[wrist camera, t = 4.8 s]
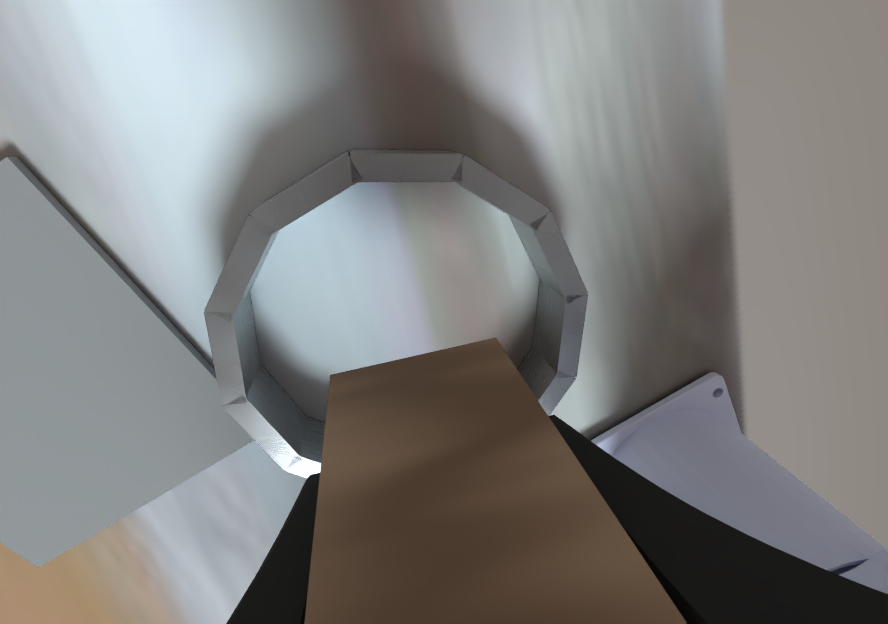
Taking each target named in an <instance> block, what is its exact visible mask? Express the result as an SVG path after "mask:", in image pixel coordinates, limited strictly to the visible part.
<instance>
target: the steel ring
mask: <svg viewBox="0 0 888 624" xmlns="http://www.w3.org/2000/svg"><path fill="white" fill-rule="evenodd" d="M357 182H455V183H457V184H459V185H460V186H462V187H464V188H465V189H467V190H468V191H470V192H472V193H473V194H475V195H477V196H478V197H480V198H481V199H483V200H485V201H486V202H488V203H490V204H491V205H493V206H494V207H496V208H498V209H499V210H501V211H503V212H504V213H506V214H507V215H509V217H510V219H511V221H512V223H513V225H514V227H515V229H516V231H517V233H518V235H519V237H520V239H521V241H522V243H523V245H524V247H525V250H526V252H527V254H528V256H529V258H530V260H531V262H532V264H533V266H534V268H535V270H536V272H537V274H538V276H539V278H540V283H539V294H538V304H537V314H536V325H535V335H534V346H533V347H532V349H531V350H530V351H529V353H528V354H527V356H526V357H525V359H524V360H523V362H522V363H521V365H520V366H519V368H518V369H517V370H518V372H519V373H520V375H521V376H522V378H523V379H524V381H525V382H526V384H527V385H528V387H529V388H530V389H531V391H532V392H533V394H534V395H535V397H536V398H537V400H538V401H539V403H540V404H541V406H542V407H543V409H544V410H545V412H546V413H547V415H548V416H549V415H550V414H551V413H552V411H553V410H554V408H555V407H556V406H557V404H558V403H559V401H560V400H561V399H562V397H563V396H564V394H565V393H566V392H567V390H568V389H569V387H570V386H571V385H572V383H573V382H574V380H575V379H576V378H575V377H577V370H578V363H579V356H580V348H581V341H582V334H583V327H584V319H585V312H586V305H587V298H588V294H586V293H588V292H587V290H586V288H585V286H584V283H583V281H582V279H581V276H580V274H579V272H578V270H577V267H576V265H575V263H574V261H573V258H572V256H571V254H570V252H569V249H568V247H567V245H566V243H565V240H564V238H563V236H562V234H561V231H560V229H559V227H558V225H557V222H556V220H555V218H554V216H553V213H552V211H550V209H549V208H547V207H546V206H544V205H542V204H541V203H539V202H538V201H536V200H535V199H533V198H532V197H530V196H528V195H527V194H525V193H524V192H522V191H521V190H519V189H518V188H516V187H514V186H513V185H511V184H510V183H508V182H507V181H505V180H504V179H502V178H500V177H499V176H497V175H496V174H494V173H493V172H491V171H490V170H488V169H486V168H485V167H483V166H482V165H480V164H479V163H477V162H476V161H474V160H472V159H471V158H469V157H468V156H466V155H464V154H461V153H456V152H452V151H448V150H350V152H349V150H348V151H346V152H345V153H343V154H341V155H340V156H338V157H337V158H335V159H333V160H332V161H330V162H328V163H327V164H325V165H324V166H322V167H320V168H319V169H317V170H315V171H314V172H312V173H310V174H309V175H307V176H306V177H304V178H302V179H301V180H299V181H297V182H296V183H294V184H292V185H291V186H289V187H288V188H286V189H284V190H283V191H281V192H279V193H278V194H276V195H275V196H273V197H271V198H270V199H268V200H266V201H265V202H264V203H262V204H261V205H260V206H259V207H257V208H256V209H255V210H254V211H252V212H251V213H250V214H249V215H248V217H247V219H246V221H245V223H244V225H243V228H242V230H241V232H240V234H239V236H238V238H237V241H236V243H235V245H234V247H233V249H232V251H231V254H230V256H229V258H228V260H227V262H226V264H225V267H224V269H223V271H222V273H221V275H220V277H219V280H218V282H217V284H216V286H215V288H214V290H213V293H212V295H211V297H210V299H209V301H208V303H207V306H206V308H205V310H204V311H205V312H204V315H205V321H206V326H207V331H208V336H209V342H210V347H211V352H212V358H213V363H214V368H215V373H216V379H217V384H218V389H219V394H220V400H221V405H223V408H224V409H225V410H226V411H227V412H228V413H229V414H230V415H231V416H232V417H233V418H234V419H235V420H236V421H237V422H238V423H239V424H240V425H241V427H242V428H243V429H244V430H245V431H246V432H247V433H248V434H249V435H250V436H251V437H252V438H253V439H254V440H255V441H256V442H257V443H258V444H259V445H260V446H261V447H262V448H263V449H264V450H265V451H266V452H267V453H268V455H269V456H270V457H271V458H272V459H273V460H274V461H275V462H276V463H277V464H278V465H279V466H280V467H281V468H282V469H283V470H285V469H286V472H289V473H292V474H295V475H298V476H301V477H304V478H308V477H309V476H310V475H312V474H316V473H320V469H321V460H322V450H323V440H324V431H325V423H323V422H320V421H317V420H315V419H312V418H309V417H306V415H305V414H304V413H303V412H302V411H301V410H300V408H299V407H298V406H297V405H296V404H295V403H294V402H293V400H292V399H291V398H290V397H289V396H288V395H287V394H286V392H285V391H284V390H283V389H282V388H281V387H280V385H279V384H278V383H277V382H276V381H275V380H274V379H273V377H272V376H271V375H270V374H269V373H268V372H267V371H266V369H265V368H264V367H263V366H262V365H261V364H260V357H259V351H258V344H257V337H256V330H255V323H254V317H253V310H252V303H251V296H250V289H251V287H252V285H253V283H254V281H255V279H256V277H257V275H258V272H259V270H260V268H261V266H262V264H263V262H264V260H265V258H266V256H267V254H268V252H269V250H270V248H271V246H272V243H273V241H274V239H275V237H276V235H277V233H278V231H279V230H280V229H281V228H283V227H285V226H286V225H288V224H290V223H291V222H293V221H295V220H296V219H298V218H299V217H301V216H303V215H304V214H306V213H308V212H309V211H311V210H313V209H314V208H316V207H318V206H319V205H321V204H322V203H324V202H326V201H327V200H329V199H331V198H332V197H334V196H336V195H337V194H339V193H341V192H342V191H344V190H345V189H347V188H349V187H350V186H352V185H354V184H355V183H357Z"/></svg>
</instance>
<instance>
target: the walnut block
mask: <svg viewBox="0 0 888 624" xmlns="http://www.w3.org/2000/svg"><path fill="white" fill-rule="evenodd" d="M304 624H687V623H686V621H685V620H684V618H683V617H682V615H681V614H680V612H679V611H678V609H677V608H676V606H675V605H674V603H673V602H672V600H671V599H670V597H669V596H668V594H667V593H666V591H665V590H664V588H663V587H662V585H661V584H660V582H659V581H658V579H657V578H656V576H655V575H654V573H653V572H652V570H651V569H650V567H649V566H648V564H647V563H646V561H645V560H644V558H643V557H642V555H641V554H640V552H639V551H638V549H637V548H636V546H635V545H634V543H633V542H632V540H631V539H630V537H629V536H628V534H627V533H626V531H625V530H624V528H623V527H622V525H621V524H620V522H619V521H618V519H617V518H616V516H615V515H614V513H613V512H612V510H611V509H610V507H609V506H608V505H607V503H606V502H605V500H604V499H603V497H602V496H601V494H600V493H599V491H598V490H597V488H596V487H595V485H594V484H593V482H592V481H591V479H590V478H589V476H588V475H587V473H586V472H585V470H584V469H583V467H582V466H581V464H580V463H579V461H578V460H577V458H576V457H575V455H574V454H573V452H572V451H571V449H570V448H569V446H568V445H567V443H566V442H565V440H564V439H563V437H562V436H561V434H560V433H559V431H558V430H557V428H556V427H555V425H554V424H553V422H552V421H551V419H550V418H549V416H548V415H547V413H546V412H545V410H544V409H543V407H542V406H541V404H540V403H539V401H538V400H537V398H536V397H535V395H534V394H533V392H532V391H531V389H530V388H529V387H528V385H527V384H526V382H525V381H524V379H523V378H522V376H521V375H520V373H519V372H518V370H517V369H516V367H515V366H514V364H513V363H512V361H511V360H510V358H509V357H508V355H507V354H506V352H505V351H504V349H503V348H502V346H501V345H500V343H499V342H498V340H497V339H496V338H492V339H488V340H483V341H479V342H475V343H470V344H466V345H461V346H457V347H452V348H448V349H444V350H439V351H435V352H430V353H426V354H421V355H417V356H413V357H408V358H404V359H399V360H395V361H390V362H386V363H382V364H377V365H373V366H368V367H364V368H359V369H355V370H350V371H346V372H342V373H337V374H333V375H330V383H329V393H328V402H327V412H326V421H325V431H324V440H323V450H322V460H321V469H320V479H319V488H318V498H317V507H316V517H315V527H314V536H313V546H312V555H311V565H310V574H309V584H308V593H307V603H306V613H305V622H304Z"/></svg>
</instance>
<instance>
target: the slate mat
mask: <svg viewBox="0 0 888 624" xmlns="http://www.w3.org/2000/svg"><path fill="white" fill-rule="evenodd" d="M252 441H254V439H253V438H252V437H251V436H250V435H249V434H248V433H247V432H246V431H245V430H244V429H243V428H242V427H241V425H240V424H239V423H238V422H237V421H236V420H235V419H234V418H233V417H232V416H231V415H230V414H229V413H228V412H227V411H226V410H225V409H224V408H223V405H221V400H220V394H219V389H218V384H217V379H216V373H215V369H214V368H213V367H212V366H211V365H210V364H209V363H208V362H207V361H206V360H205V359H204V357H203V356H202V355H201V354H200V353H199V352H198V351H197V350H196V349H195V348H194V347H193V346H192V345H191V344H190V342H189V341H188V340H187V339H186V338H185V337H184V336H183V335H182V334H181V333H180V332H179V331H178V330H177V328H176V327H175V326H174V325H173V324H172V323H171V322H170V321H169V320H168V319H167V318H166V317H165V316H164V315H163V313H162V312H161V311H160V310H159V309H158V308H157V307H156V306H155V305H154V304H153V303H152V302H151V301H150V299H149V298H148V297H147V296H146V295H145V294H144V293H143V292H142V291H141V290H140V289H139V288H138V287H137V285H136V284H135V283H134V282H133V281H132V280H131V279H130V278H129V277H128V276H127V275H126V274H125V273H124V272H123V270H122V269H121V268H120V267H119V266H118V265H117V264H116V263H115V262H114V261H113V260H112V259H111V258H110V256H109V255H108V254H107V253H106V252H105V251H104V250H103V249H102V248H101V247H100V246H99V245H98V244H97V243H96V241H95V240H94V239H93V238H92V237H91V236H90V235H89V234H88V233H87V232H86V231H85V230H84V229H83V227H82V226H81V225H80V224H79V223H78V222H77V221H76V220H75V219H74V218H73V217H72V216H71V215H70V214H69V212H68V211H67V210H66V209H65V208H64V207H63V206H62V205H61V204H60V203H59V202H58V201H57V200H56V198H55V197H54V196H53V195H52V194H51V193H50V192H49V191H48V190H47V189H46V188H45V187H44V186H43V185H42V183H41V182H40V181H39V180H38V179H37V178H36V177H35V176H34V175H33V174H32V173H31V172H30V171H29V169H28V168H27V167H26V166H25V165H24V164H23V163H22V162H21V161H20V160H19V159H18V158H17V157H16V156H13V157H6V158H5V159H3V160H1V161H0V543H2V544H3V545H5V546H6V547H8V548H9V549H11V550H12V551H14V552H15V553H17V554H18V555H20V556H21V557H23V558H24V559H26V560H27V561H29V562H30V563H32V564H33V565H35V566H36V567H40V566H42V565H43V564H45V563H47V562H48V561H50V560H52V559H53V558H55V557H57V556H59V555H60V554H62V553H64V552H65V551H67V550H69V549H70V548H72V547H74V546H76V545H77V544H79V543H81V542H82V541H84V540H86V539H87V538H89V537H91V536H92V535H94V534H96V533H98V532H99V531H101V530H103V529H104V528H106V527H108V526H109V525H111V524H113V523H115V522H116V521H118V520H120V519H121V518H123V517H125V516H126V515H128V514H130V513H131V512H133V511H135V510H137V509H138V508H140V507H142V506H143V505H145V504H147V503H148V502H150V501H152V500H153V499H155V498H157V497H159V496H160V495H162V494H164V493H165V492H167V491H169V490H170V489H172V488H174V487H176V486H177V485H179V484H181V483H182V482H184V481H186V480H187V479H189V478H191V477H192V476H194V475H196V474H198V473H199V472H201V471H203V470H204V469H206V468H208V467H209V466H211V465H213V464H215V463H216V462H218V461H220V460H221V459H223V458H225V457H226V456H228V455H230V454H231V453H233V452H235V451H237V450H238V449H240V448H242V447H243V446H245V445H247V444H248V443H250V442H252Z"/></svg>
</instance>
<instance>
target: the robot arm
mask: <svg viewBox="0 0 888 624" xmlns="http://www.w3.org/2000/svg"><path fill="white" fill-rule="evenodd" d="M715 390H716V391H715ZM714 391H715V392H714ZM713 392H714V393H713ZM549 418H550V419H551V421H552V422H553V424H554V425H555V427H556V428H557V430H558V431H559V433H560V434H561V436H562V437H563V439H564V440H565V442H566V443H567V445H568V446H569V448H570V449H571V451H572V452H573V454H574V455H575V457H576V458H577V460H578V461H579V463H580V464H581V466H582V467H583V469H584V470H585V472H586V473H587V475H588V476H589V478H590V479H591V481H592V482H593V484H594V485H595V487H596V488H597V490H598V491H599V493H600V494H601V496H602V497H603V499H604V500H605V502H606V503H607V505H608V506H609V507H610V509H611V510H612V512H613V513H614V515H615V516H616V518H617V519H618V521H619V522H620V524H621V525H622V527H623V528H624V530H625V531H626V533H627V534H628V536H629V537H630V539H631V540H632V542H633V543H634V545H635V546H636V548H637V549H638V551H639V552H640V554H641V555H642V557H643V558H644V560H645V561H646V563H647V564H648V566H649V567H650V569H651V570H652V572H653V573H654V575H655V576H656V578H657V579H658V581H659V582H660V584H661V585H662V587H663V588H664V590H665V591H666V593H667V594H668V596H669V597H670V599H671V600H672V602H673V603H674V605H675V606H676V608H677V609H678V611H679V612H680V614H681V615H682V617H683V618H684V620H685V621H686V623H687V624H888V549H887V548H886V547H885V546H883V545H882V544H881V543H880V542H878V541H877V540H876V539H875V538H873V537H872V536H871V535H869V534H868V533H867V532H866V531H864V530H863V529H862V528H861V527H859V526H858V525H857V524H856V523H854V522H853V521H852V520H850V519H849V518H848V517H847V516H845V515H844V514H843V513H842V512H840V511H839V510H838V509H836V508H835V507H834V506H833V505H831V504H830V503H829V502H828V501H826V500H825V499H824V498H823V497H821V496H820V495H819V494H818V493H816V492H815V491H814V490H812V489H811V488H810V487H809V486H807V485H806V484H805V483H804V482H802V481H801V480H800V479H799V478H797V477H796V476H795V475H793V474H792V473H791V472H789V471H788V470H787V469H786V468H785V467H783V466H782V465H781V464H780V463H778V462H777V461H776V460H774V459H773V458H772V457H771V456H769V455H768V454H767V453H766V452H764V451H763V450H762V449H761V448H759V447H758V446H757V445H756V444H754V443H753V442H752V441H750V440H749V439H748V438H747V437H745V436H744V435H743V434H742V433H741V430H740V427H739V423H738V420H737V417H736V414H735V411H734V408H733V405H732V402H731V399H730V396H729V393H728V390H727V387H726V383H725V380H724V378H723V377H722V376H721V375H719V374H717V373H715V372H711V373H708V374H706V375H705V376H703V377H701V378H699V379H698V380H696V381H694V382H692V383H691V384H689V385H687V386H685V387H684V388H682V389H680V390H678V391H677V392H675V393H673V394H671V395H670V396H668V397H666V398H664V399H663V400H661V401H659V402H657V403H656V404H654V405H652V406H650V407H649V408H647V409H645V410H643V411H642V412H640V413H638V414H636V415H635V416H633V417H631V418H629V419H628V420H626V421H624V422H622V423H621V424H619V425H617V426H615V427H613V428H612V429H610V430H608V431H606V432H605V433H603V434H601V435H599V436H598V437H596V438H594V439H592V440H591V441H590V440H589V439H587V438H586V437H584V436H583V435H582V434H580V433H579V432H577V431H576V430H575V429H573V428H572V427H571V426H569V425H568V424H566V423H565V422H564V421H562V420H561V419H559V418H558V417H556V416H555V415H551V416H549ZM319 479H320V473H316V474H312V475H310V476H309V477H308V478H307V480H306V481H305V483H304V486H303V488H302V490H301V492H300V494H299V496H298V498H297V500H296V502H295V504H294V506H293V508H292V510H291V512H290V514H289V516H288V518H287V519H286V521H285V523H284V525H283V527H282V529H281V531H280V533H279V535H278V537H277V538H276V540H275V542H274V544H273V546H272V547H271V549H270V551H269V553H268V555H267V556H266V558H265V560H264V562H263V564H262V566H261V567H260V569H259V571H258V573H257V574H256V576H255V578H254V579H253V581H252V583H251V584H250V586H249V588H248V589H247V591H246V593H245V594H244V596H243V597H242V599H241V601H240V602H239V604H238V606H237V607H236V609H235V610H234V612H233V614H232V615H231V617H230V619H229V620H228V622H227V623H226V624H304V622H305V613H306V603H307V593H308V584H309V574H310V565H311V555H312V546H313V536H314V527H315V517H316V507H317V498H318V488H319Z"/></svg>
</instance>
